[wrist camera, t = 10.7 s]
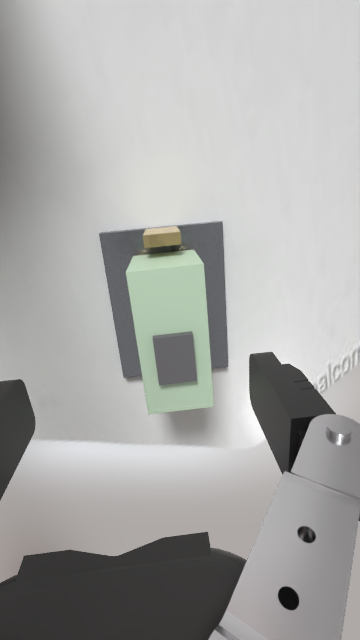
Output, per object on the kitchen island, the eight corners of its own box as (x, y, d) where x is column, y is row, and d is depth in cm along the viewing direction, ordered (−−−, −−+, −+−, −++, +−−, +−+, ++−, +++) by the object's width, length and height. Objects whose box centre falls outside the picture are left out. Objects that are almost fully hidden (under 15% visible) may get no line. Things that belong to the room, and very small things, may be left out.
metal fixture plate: (100, 232, 32) (86, 240, 25) (220, 221, 32) (236, 226, 26) (124, 373, 38) (117, 409, 31) (226, 362, 38) (240, 396, 31)
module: (133, 256, 29) (124, 274, 22) (193, 249, 29) (204, 265, 22) (150, 372, 33) (148, 419, 26) (203, 366, 33) (215, 411, 26)
